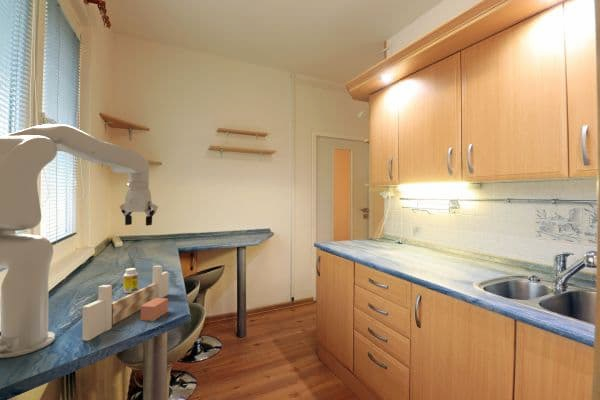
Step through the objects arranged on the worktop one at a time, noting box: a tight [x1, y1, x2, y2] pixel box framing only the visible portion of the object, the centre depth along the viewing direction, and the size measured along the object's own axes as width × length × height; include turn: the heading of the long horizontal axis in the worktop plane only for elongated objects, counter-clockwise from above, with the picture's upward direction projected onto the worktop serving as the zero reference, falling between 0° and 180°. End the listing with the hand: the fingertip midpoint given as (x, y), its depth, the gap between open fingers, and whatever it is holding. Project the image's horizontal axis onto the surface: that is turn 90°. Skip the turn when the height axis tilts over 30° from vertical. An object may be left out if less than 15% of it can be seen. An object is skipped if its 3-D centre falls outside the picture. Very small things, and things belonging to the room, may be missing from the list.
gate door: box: [112, 283, 156, 326], centre depth 102 cm, size 24×1×7 cm, turn 173°
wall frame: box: [81, 265, 170, 342], centre depth 101 cm, size 40×3×14 cm, turn 173°
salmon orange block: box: [140, 297, 169, 322], centre depth 99 cm, size 8×5×5 cm, turn 173°
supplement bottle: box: [122, 267, 139, 294], centre depth 124 cm, size 6×6×10 cm
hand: (138, 225), depth 122 cm, fingers open, 9 cm apart
